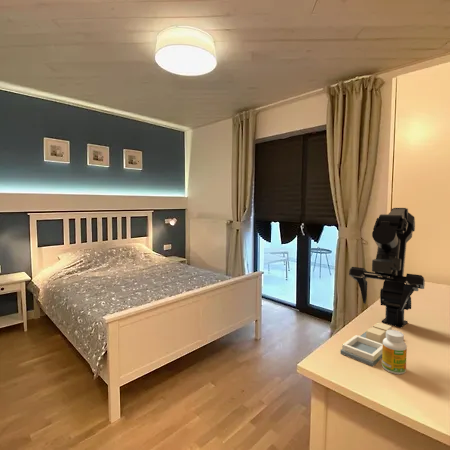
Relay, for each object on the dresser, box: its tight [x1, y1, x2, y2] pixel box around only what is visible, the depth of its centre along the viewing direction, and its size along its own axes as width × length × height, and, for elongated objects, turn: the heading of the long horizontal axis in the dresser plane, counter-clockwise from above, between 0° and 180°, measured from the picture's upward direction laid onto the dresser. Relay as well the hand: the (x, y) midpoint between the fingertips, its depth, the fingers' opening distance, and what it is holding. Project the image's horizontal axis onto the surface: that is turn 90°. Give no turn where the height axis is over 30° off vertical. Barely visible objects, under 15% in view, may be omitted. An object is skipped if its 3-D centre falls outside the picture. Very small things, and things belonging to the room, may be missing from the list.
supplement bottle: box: [381, 329, 408, 375], centre depth 74 cm, size 5×5×10 cm
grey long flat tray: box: [340, 322, 393, 367], centre depth 86 cm, size 22×9×4 cm, turn 131°
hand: (381, 307), depth 81 cm, fingers open, 9 cm apart
